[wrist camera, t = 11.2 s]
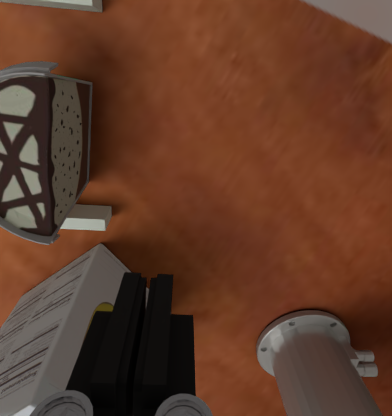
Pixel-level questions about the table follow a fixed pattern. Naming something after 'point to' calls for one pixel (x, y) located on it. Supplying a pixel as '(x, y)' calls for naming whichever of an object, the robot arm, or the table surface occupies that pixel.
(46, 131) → the food container
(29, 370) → the supplement box
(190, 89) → the table surface
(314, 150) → the table surface
